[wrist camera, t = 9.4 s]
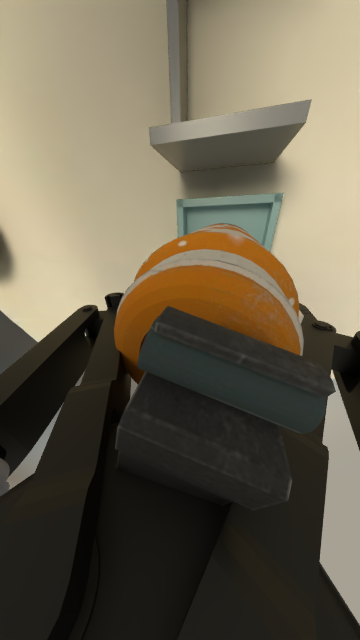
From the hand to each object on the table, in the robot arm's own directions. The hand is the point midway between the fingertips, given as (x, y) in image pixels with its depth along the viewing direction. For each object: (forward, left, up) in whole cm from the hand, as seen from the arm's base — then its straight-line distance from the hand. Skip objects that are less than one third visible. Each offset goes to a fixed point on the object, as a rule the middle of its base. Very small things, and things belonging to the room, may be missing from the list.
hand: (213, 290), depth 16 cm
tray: (0, 0, -18) cm, 18 cm away
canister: (0, 0, -5) cm, 5 cm away
